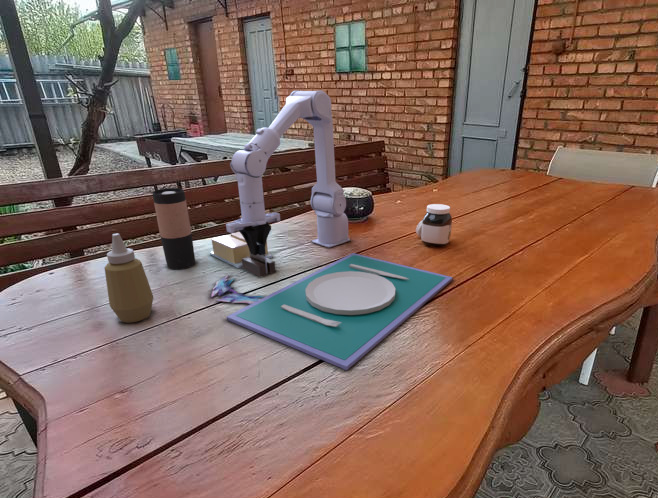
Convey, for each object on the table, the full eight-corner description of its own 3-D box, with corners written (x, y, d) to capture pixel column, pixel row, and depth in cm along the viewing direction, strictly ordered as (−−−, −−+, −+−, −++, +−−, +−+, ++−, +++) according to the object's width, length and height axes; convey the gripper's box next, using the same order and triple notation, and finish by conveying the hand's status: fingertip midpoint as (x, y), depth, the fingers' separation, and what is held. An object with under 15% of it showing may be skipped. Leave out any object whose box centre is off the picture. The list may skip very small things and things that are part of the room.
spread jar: (441, 250, 125) (444, 212, 120) (406, 244, 130) (408, 207, 126) (455, 239, 134) (459, 203, 130) (422, 233, 140) (425, 199, 135)
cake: (243, 245, 129) (241, 228, 127) (272, 257, 120) (271, 239, 118) (210, 254, 122) (207, 237, 120) (238, 268, 112) (236, 249, 110)
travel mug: (159, 267, 113) (144, 192, 105) (180, 257, 120) (168, 186, 112) (182, 271, 111) (168, 195, 103) (202, 261, 117) (191, 189, 109)
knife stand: (258, 264, 115) (257, 253, 114) (275, 271, 110) (274, 261, 109) (242, 268, 112) (241, 258, 111) (260, 277, 107) (259, 266, 106)
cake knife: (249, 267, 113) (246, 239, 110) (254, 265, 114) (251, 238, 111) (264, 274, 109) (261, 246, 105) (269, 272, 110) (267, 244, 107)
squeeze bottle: (113, 329, 84) (90, 243, 76) (114, 312, 90) (92, 231, 83) (158, 320, 87) (139, 237, 80) (155, 304, 94) (138, 225, 86)
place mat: (346, 370, 71) (346, 359, 71) (227, 319, 87) (225, 309, 86) (452, 280, 106) (453, 271, 105) (352, 255, 121) (352, 247, 120)
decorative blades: (195, 283, 102) (233, 272, 108) (195, 286, 103) (233, 275, 109) (231, 312, 89) (273, 297, 95) (232, 315, 89) (273, 301, 95)
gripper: (234, 209, 97) (241, 264, 102) (285, 198, 106) (289, 249, 112) (218, 204, 101) (226, 257, 106) (269, 194, 111) (273, 243, 116)
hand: (257, 253), depth 109 cm, fingers closed on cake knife, 2 cm apart
